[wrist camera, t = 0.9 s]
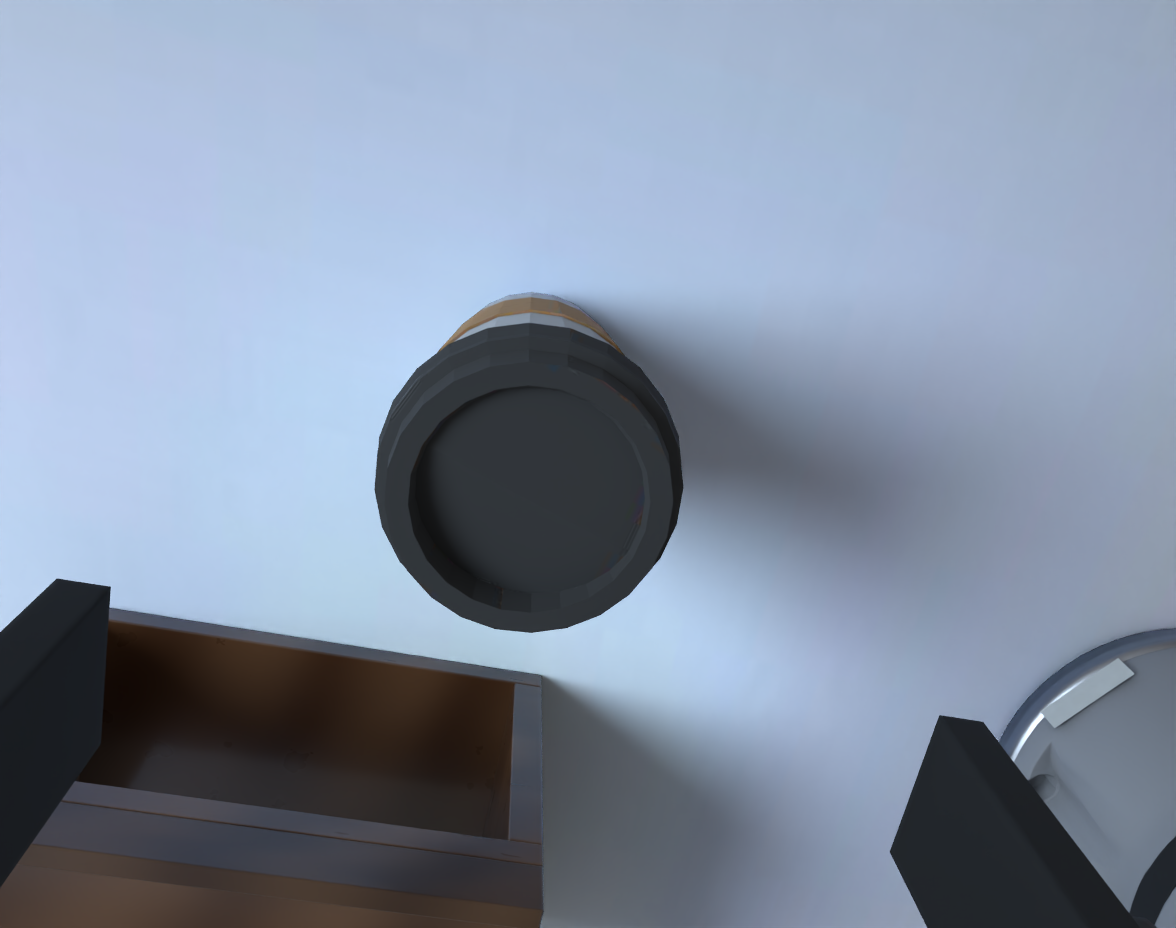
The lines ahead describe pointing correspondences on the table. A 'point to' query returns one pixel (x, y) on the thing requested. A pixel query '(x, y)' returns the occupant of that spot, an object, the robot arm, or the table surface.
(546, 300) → the coffee cup
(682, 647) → the table surface
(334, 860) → the box
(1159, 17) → the table surface
